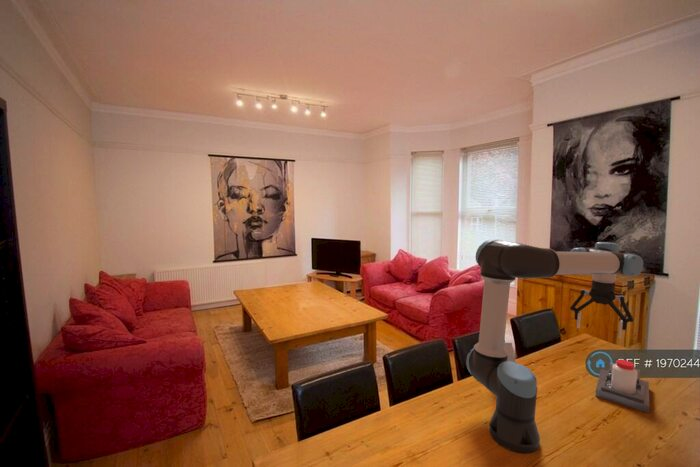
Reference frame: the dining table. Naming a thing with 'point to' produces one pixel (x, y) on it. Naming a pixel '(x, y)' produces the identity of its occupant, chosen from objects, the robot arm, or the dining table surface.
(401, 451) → the dining table surface
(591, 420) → the dining table surface
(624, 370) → the pill bottle
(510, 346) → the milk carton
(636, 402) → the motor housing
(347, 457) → the dining table surface
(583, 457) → the dining table surface
